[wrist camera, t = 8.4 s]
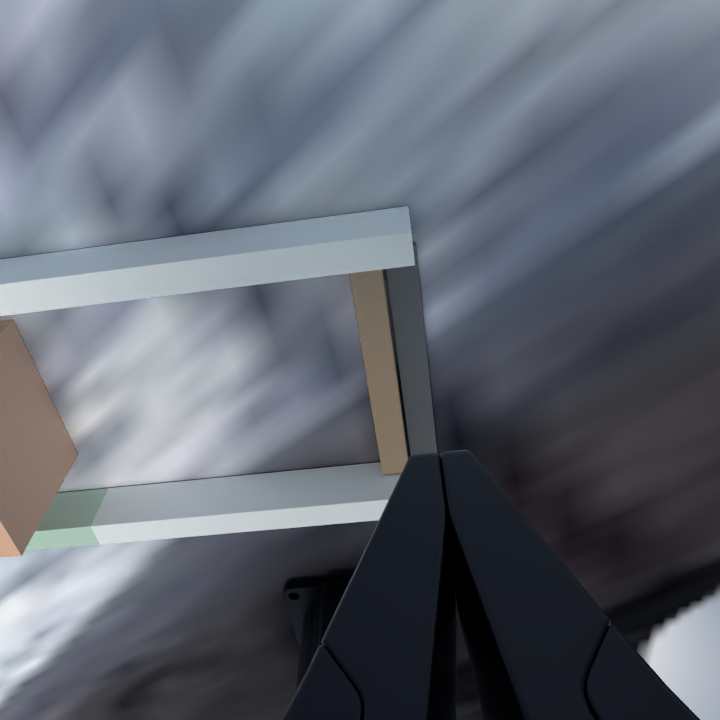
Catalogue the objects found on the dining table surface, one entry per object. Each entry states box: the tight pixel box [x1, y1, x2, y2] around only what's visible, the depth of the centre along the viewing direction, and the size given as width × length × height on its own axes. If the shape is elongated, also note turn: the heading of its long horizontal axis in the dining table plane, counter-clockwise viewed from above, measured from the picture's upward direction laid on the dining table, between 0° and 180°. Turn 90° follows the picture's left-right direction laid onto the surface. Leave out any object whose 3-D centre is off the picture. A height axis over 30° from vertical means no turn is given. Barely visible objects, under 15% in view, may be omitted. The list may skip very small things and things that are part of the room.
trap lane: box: [0, 206, 437, 551], centre depth 23 cm, size 11×24×2 cm, turn 98°
